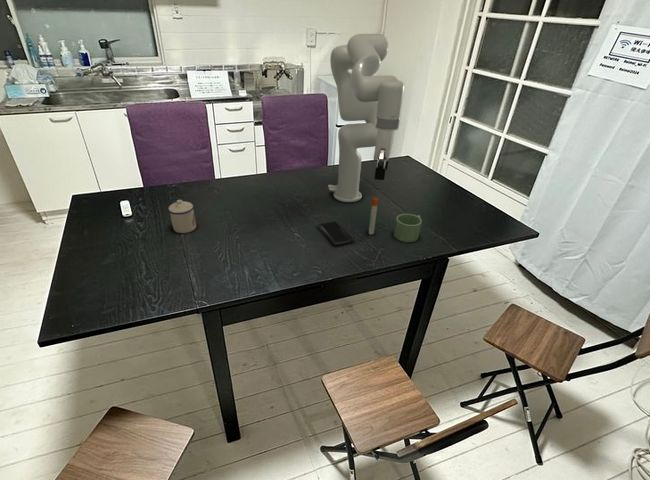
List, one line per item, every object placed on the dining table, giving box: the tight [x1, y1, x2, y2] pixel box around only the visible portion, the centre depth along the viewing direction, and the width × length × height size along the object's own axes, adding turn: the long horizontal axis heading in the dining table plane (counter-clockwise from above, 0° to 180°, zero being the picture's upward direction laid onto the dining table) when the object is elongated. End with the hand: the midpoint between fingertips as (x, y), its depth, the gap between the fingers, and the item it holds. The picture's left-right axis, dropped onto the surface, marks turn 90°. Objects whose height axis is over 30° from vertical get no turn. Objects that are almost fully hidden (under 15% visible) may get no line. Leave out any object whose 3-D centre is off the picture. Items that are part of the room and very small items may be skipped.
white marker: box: [368, 196, 379, 235], centre depth 141 cm, size 2×2×14 cm
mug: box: [393, 213, 423, 243], centre depth 143 cm, size 12×9×7 cm
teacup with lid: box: [168, 199, 197, 234], centre depth 145 cm, size 12×9×12 cm
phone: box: [318, 220, 353, 247], centre depth 144 cm, size 8×1×15 cm
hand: (381, 174), depth 131 cm, fingers open, 9 cm apart
